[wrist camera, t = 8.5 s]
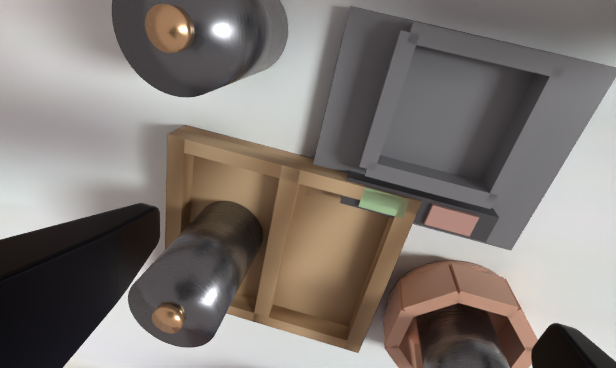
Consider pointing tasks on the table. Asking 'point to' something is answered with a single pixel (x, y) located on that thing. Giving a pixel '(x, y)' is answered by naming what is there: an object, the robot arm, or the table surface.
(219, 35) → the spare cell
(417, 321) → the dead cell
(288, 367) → the table surface
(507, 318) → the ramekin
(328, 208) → the trough board
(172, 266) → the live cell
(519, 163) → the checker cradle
